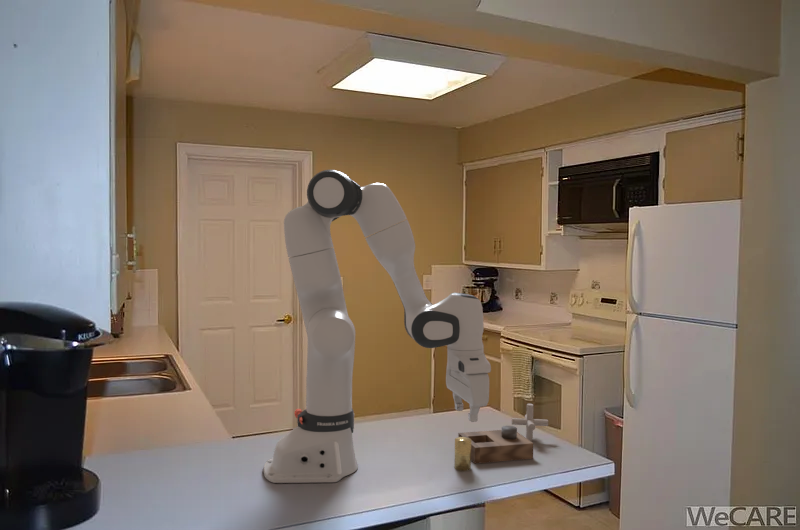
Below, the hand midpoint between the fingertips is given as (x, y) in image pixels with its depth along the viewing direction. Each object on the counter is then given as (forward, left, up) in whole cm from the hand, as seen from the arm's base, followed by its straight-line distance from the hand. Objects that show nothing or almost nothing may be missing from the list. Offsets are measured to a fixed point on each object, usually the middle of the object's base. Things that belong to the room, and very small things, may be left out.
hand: (465, 415), depth 147 cm
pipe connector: (+25, +16, -13) cm, 33 cm away
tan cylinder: (-1, 0, -13) cm, 13 cm away
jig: (+11, +8, -13) cm, 19 cm away
